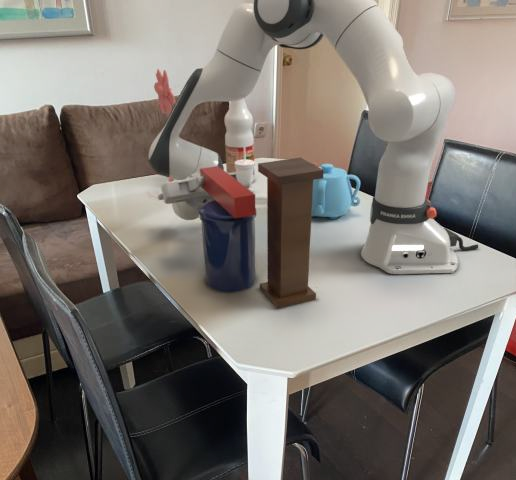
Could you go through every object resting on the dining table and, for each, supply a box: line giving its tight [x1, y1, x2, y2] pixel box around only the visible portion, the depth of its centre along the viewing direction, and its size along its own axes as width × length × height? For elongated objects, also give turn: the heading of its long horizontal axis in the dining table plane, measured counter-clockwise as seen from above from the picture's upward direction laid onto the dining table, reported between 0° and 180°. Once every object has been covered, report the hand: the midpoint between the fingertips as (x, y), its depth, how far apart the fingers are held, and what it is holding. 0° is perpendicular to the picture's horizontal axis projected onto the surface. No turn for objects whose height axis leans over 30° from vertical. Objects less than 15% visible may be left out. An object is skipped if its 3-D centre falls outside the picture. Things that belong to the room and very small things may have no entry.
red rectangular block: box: [200, 166, 256, 219], centre depth 102 cm, size 20×4×4 cm, turn 24°
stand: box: [257, 157, 324, 310], centre depth 100 cm, size 9×9×27 cm
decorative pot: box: [311, 163, 361, 220], centre depth 142 cm, size 16×16×14 cm
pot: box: [198, 200, 257, 293], centre depth 109 cm, size 12×12×17 cm
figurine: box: [149, 68, 191, 200], centre depth 152 cm, size 15×26×35 cm, turn 29°
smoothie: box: [234, 147, 256, 192], centre depth 157 cm, size 6×6×14 cm
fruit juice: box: [224, 97, 256, 183], centre depth 163 cm, size 9×9×28 cm
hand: (214, 178), depth 107 cm, fingers closed on red rectangular block, 4 cm apart
